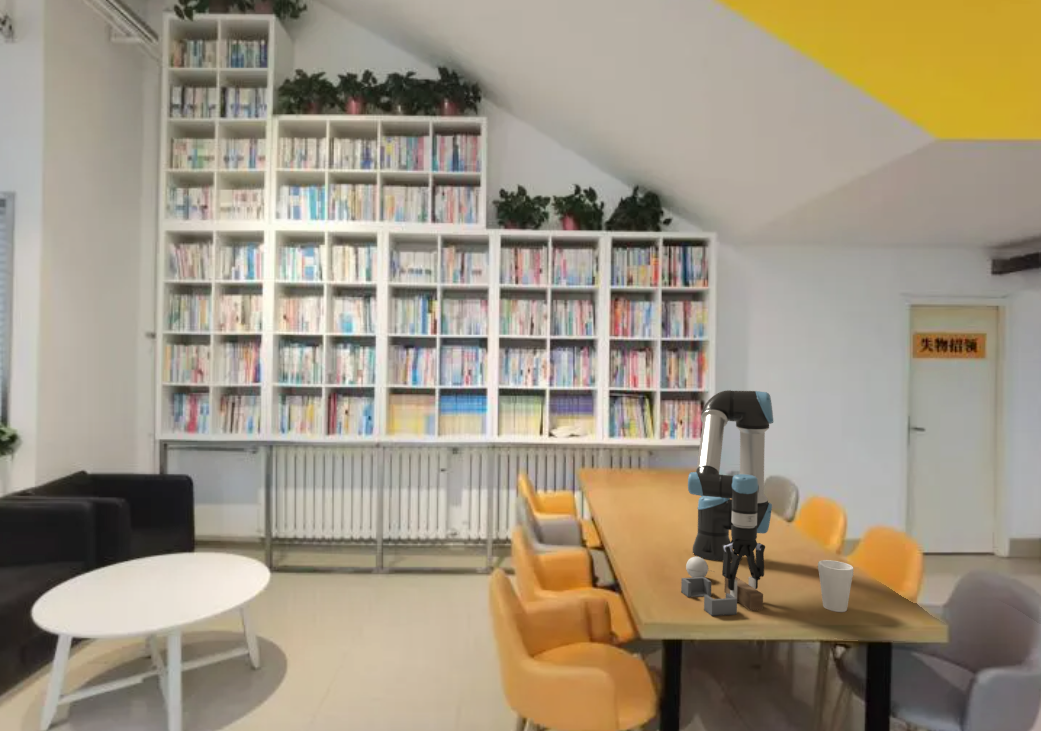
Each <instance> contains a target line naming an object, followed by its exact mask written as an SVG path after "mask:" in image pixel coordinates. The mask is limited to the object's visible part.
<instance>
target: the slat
mask: <svg viewBox="0 0 1041 731" xmlns="http://www.w3.org/2000/svg"><path fill="white" fill-rule="evenodd" d="M735 580H737V603H739V604H740V605H742V606H743V607H745V608H746V609H747V610H749V611H763V609H764V594H763V593H762V591H761V592H760V591H759V590H758V589H754V588H753V587H751V586H750V585H749V583H747V582H745V581H743V580H742V579H740V578H738V576H736V577H735ZM724 593H725V595H726V594H728V593H729V594H730V589H729V588H728V579H727V578H726V577H724Z"/></svg>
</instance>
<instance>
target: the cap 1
mask: <svg viewBox="0 0 1041 731" xmlns="http://www.w3.org/2000/svg"><path fill="white" fill-rule="evenodd" d="M680 583H681V585H680V586H681V587H680V588H681V589H680V590H681V591H680V593H681V594H683V595H684V596H686V597H687V598H701V597H703V598H704V595H708V596H710V597H711V596H712V581H711V580H710V579H708V578H706V576H705V577H681V582H680Z"/></svg>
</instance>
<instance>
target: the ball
mask: <svg viewBox="0 0 1041 731" xmlns="http://www.w3.org/2000/svg"><path fill="white" fill-rule="evenodd" d="M685 568H686V569H685V570H686V572H687V574H688V575H689V576H690V578H693V577H705V578H706V576H707V574H708V572H710V570H709V566H708V563H707V561H706V559H704V558H701V557H698V556H692V557H690V558H689V559H688V560H687V562H686V565H685ZM712 572H714V573H715V571H713V570H712Z"/></svg>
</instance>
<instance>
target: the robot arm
mask: <svg viewBox="0 0 1041 731" xmlns="http://www.w3.org/2000/svg"><path fill="white" fill-rule="evenodd" d="M773 414H774V413H773V405H772V399H771V394H769V393H768V392H767V391H760V390H759V391H758V390H731V389H730V390H729V389H727V390H722V391H720V392H718V393H715V394H714V395H713V396H712V397H710V398H709V399H708V400H707V402H706V403H705V404H704V405H703V407H702V410H701V414H700V422H701V423H702V427H701V435H700V441H699V442H700V443H699V447H698V448H699V449H698V457H697V463H696V469H695V470H696V471H693V472H692V471H691V472H689V474H688V477H687V491H688V492H689V494H691V495H695V496H700V497H699V498H698V502H697V534H696V537H695V539H694V542H693V545H692V554H693V553H694V554H695V555H694V554H693V555H694V556H696V555H697V556H696V557H698V556H699V557H702V559H704V558H705V559H704V560H709V561H710V560H711V561H722V569H721V570H722V571H721V572H722V574H721V575H722V577H724V578H725V577H726V578H727V579H728V588H729V589H730V595H732V596H733V597H735V598H736V599H737V580H735V577H737V575H738V570H739V566H740V563H741V560H742V558H743V557H746V560H747V565H748V568H749V569H748V570H749V573H750V576H748V585H750V586H751V587H753V588H754V589H756V590H758V585H759V581H760V580H761V578H763V577H764V576H765V560H764V559H765V556H764V553H765V549H766V546H765V545H764V544H762V543H760V542H758V541H757V539H758V534H761V535H762V534H764V535H765V534H767V532H768V531H769V528H770V521H771V517H772V508H773V503H771V502H769V497H768V496H767V495H765V494H764V493H765V489H764V488H765V442H766V441H765V440H766V439H765V438H766V436H765V435H766V431H768V430H769V429H770V425H771V424H773V423H774V415H773ZM728 422H735V426H736V429H738V430H739V431H740V432H739V444H740V445H739V473H738V474H734V475H730V474H728V475H727V474H720V469H721V461H722V458H721V457H722V450H723V443H724V442H723V440H724V430H725V427H726V426H727V424H728ZM729 533H731V534H729ZM730 536H731V540H730ZM754 550H755V553H754Z"/></svg>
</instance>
